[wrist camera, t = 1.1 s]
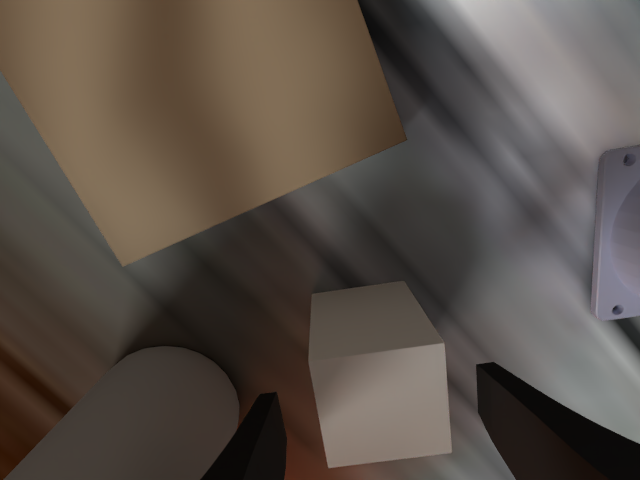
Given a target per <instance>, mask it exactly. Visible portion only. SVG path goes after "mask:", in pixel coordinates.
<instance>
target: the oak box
mask: <svg viewBox="0 0 640 480" xmlns="http://www.w3.org/2000/svg"><path fill="white" fill-rule="evenodd" d="M0 71H1V72H2V74H3V75H4V77H5V79H6V80H7V82H8V83H9V85H10V87H11V88H12V90H13V91H14V93H15V95H16V96H17V98H18V99H19V101H20V103H21V104H22V106H23V107H24V109H25V111H26V112H27V114H28V115H29V117H30V119H31V120H32V122H33V124H34V125H35V127H36V128H37V130H38V132H39V133H40V135H41V136H42V138H43V140H44V141H45V143H46V144H47V146H48V148H49V149H50V151H51V152H52V154H53V156H54V157H55V159H56V160H57V162H58V164H59V165H60V167H61V168H62V170H63V172H64V173H65V175H66V176H67V178H68V180H69V181H70V183H71V184H72V186H73V188H74V189H75V191H76V193H77V194H78V196H79V197H80V199H81V201H82V202H83V204H84V205H85V207H86V209H87V210H88V212H89V213H90V215H91V217H92V218H93V220H94V221H95V223H96V225H97V226H98V228H99V229H100V231H101V233H102V234H103V236H104V237H105V239H106V241H107V242H108V244H109V245H110V247H111V249H112V250H113V252H114V253H115V255H116V257H117V258H118V260H119V262H120V263H121V265H122V266H125V265H127V264H130V263H132V262H134V261H136V260H139V259H141V258H143V257H145V256H148V255H150V254H152V253H154V252H157V251H159V250H161V249H163V248H166V247H168V246H170V245H172V244H175V243H177V242H179V241H181V240H184V239H186V238H188V237H190V236H193V235H195V234H197V233H199V232H202V231H204V230H206V229H208V228H210V227H213V226H215V225H217V224H219V223H222V222H224V221H226V220H228V219H231V218H233V217H235V216H237V215H240V214H242V213H244V212H246V211H249V210H251V209H253V208H255V207H258V206H260V205H262V204H264V203H267V202H269V201H271V200H273V199H276V198H278V197H280V196H282V195H285V194H287V193H289V192H291V191H294V190H296V189H298V188H300V187H303V186H305V185H307V184H309V183H312V182H314V181H316V180H318V179H321V178H323V177H325V176H327V175H330V174H332V173H334V172H336V171H339V170H341V169H343V168H345V167H348V166H350V165H352V164H354V163H357V162H359V161H361V160H363V159H366V158H368V157H370V156H372V155H375V154H377V153H379V152H381V151H384V150H386V149H388V148H390V147H392V146H395V145H397V144H399V143H401V142H404V141H406V140H407V138H406V135H405V132H404V129H403V127H402V124H401V121H400V118H399V115H398V113H397V110H396V107H395V104H394V101H393V99H392V96H391V93H390V90H389V87H388V85H387V82H386V79H385V76H384V73H383V71H382V68H381V65H380V62H379V59H378V57H377V54H376V51H375V48H374V45H373V43H372V40H371V37H370V34H369V31H368V29H367V26H366V23H365V20H364V17H363V15H362V12H361V9H360V6H359V3H358V1H357V0H0Z"/></svg>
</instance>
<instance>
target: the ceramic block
mask: <svg viewBox="0 0 640 480" xmlns="http://www.w3.org/2000/svg"><path fill="white" fill-rule="evenodd" d="M308 363H309V368H310V373H311V379H312V384H313V390H314V395H315V400H316V406H317V411H318V416H319V422H320V427H321V432H322V438H323V443H324V448H325V454H326V459H327V464H328V468H334V467H342V466H350V465H358V464H366V463H374V462H382V461H390V460H398V459H406V458H414V457H422V456H430V455H438V454H446V453H452V447H451V432H450V417H449V403H448V388H447V373H446V358H445V343H444V341H443V340H442V338H441V337H440V335H439V334H438V332H437V331H436V329H435V328H434V326H433V325H432V323H431V322H430V320H429V318H428V317H427V315H426V314H425V312H424V311H423V309H422V308H421V306H420V305H419V303H418V302H417V300H416V298H415V297H414V295H413V294H412V292H411V291H410V289H409V288H408V286H407V285H406V283H405V282H404V281H398V282H391V283H384V284H377V285H370V286H363V287H356V288H349V289H342V290H335V291H328V292H322V293H315V294H312V298H311V318H310V338H309V357H308Z"/></svg>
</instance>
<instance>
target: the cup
mask: <svg viewBox="0 0 640 480" xmlns="http://www.w3.org/2000/svg"><path fill="white" fill-rule="evenodd" d="M238 421H239V401H238V397H237V393H236V390H235V388H234V387H233V385H232V383H231V381H230V380H229V378H228V376H227V375H226V373H225V372H224V371H223V370H222V369H221V368H220V367H219V366H218V365H217V364H216V363H215V362H214V361H212V360H210V359H209V358H207V357H205V356H204V355H202V354H200V353H198V352H195V351H192V350H189V349H186V348H182V347H172V346H159V347H151V348H144V349H141V350H139V351H137V352H134V353H132V354H129V355H127V356H126V357H125V358H123V359H122V360H121V361H120V362H118V363H117V364H116V365H115V366H113V367H112V368H111V369H110V370H109V371H108V372H107V373H106V374H105V375H104V376H103V377H102V378H101V379H100V380H99V381H98V382H97V383H96V384H95V385H94V386H93V387H92V388H91V389H90V390H89V391H88V392H87V393H86V394H85V395H84V397H83V398H82V399H81V400H80V401H79V402H78V403H77V404H76V405H75V406H74V407H73V408H72V409H71V410H70V411H69V412H68V413H67V414H66V415H65V416H64V417H63V418H62V419H61V420H60V422H59V423H58V424H57V425H56V426H55V427H54V428H53V429H52V430H51V431H50V432H49V433H48V434H47V435H46V436H45V437H44V438H43V439H42V440H41V441H40V442H39V443H38V444H37V446H36V447H35V448H34V449H33V450H32V451H31V452H30V453H29V454H28V455H27V456H26V457H25V458H24V459H23V460H22V461H21V462H20V463H19V464H18V465H17V466H16V467H15V468H14V469H13V471H12V472H11V473H10V474H9V475H8V476H7V477H6V478H5V479H4V480H200V479H201V478H202V477H203V475H204V474H205V473H206V472H207V470H208V469H209V468H210V467H211V465H212V464H213V463H214V461H215V460H216V459H217V457H218V456H219V455H220V453H221V452H222V451H223V449H224V448H225V447H226V445H227V444H228V442H229V441H230V440H231V438H232V437H233V435H234V434H235V432H236V430H237V426H238Z"/></svg>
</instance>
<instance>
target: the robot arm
mask: <svg viewBox="0 0 640 480" xmlns="http://www.w3.org/2000/svg"><path fill="white" fill-rule="evenodd" d="M626 155H627V157H628V159H627V162H626V163H625V164H624V163H623V159H624V157H625V156H626ZM616 305H617V306H616ZM615 306H616V308H615V309H614V310H613V308H614V307H615ZM591 313H592V315H593V316H595V317H596V318H598V319H600V320H612V319H619V318H627V317H634V316H640V145H637V146H631V147H625V148H618V149H612V150H609V151H606V152H605V153H604V154H603V155H602V156H601V158H600V160H599V168H598V186H597V204H596V222H595V240H594V258H593V276H592V294H591ZM476 371H477V395H478V413H479V415H480V417H481V419H482V421H483V424H484V426H485V428H486V430H487V432H488V434H489V436H490V438H491V440H492V442H493V443H494V445H495V447H496V448H497V450H498V452H499V453H500V455H501V456H502V458H503V460H504V461H505V463H506V464H507V466H508V468H509V469H510V471H511V472H512V474H513V475H514V477H515V479H516V480H640V444H639V443H636V442H634V441H632V440H630V439H627V438H625V437H623V436H621V435H619V434H617V433H615V432H613V431H611V430H609V429H607V428H605V427H602V426H600V425H598V424H597V423H595V422H593V421H591V420H589V419H587V418H585V417H583V416H581V415H580V414H578V413H576V412H574V411H572V410H571V409H569V408H567V407H565V406H564V405H562V404H560V403H558V402H557V401H555V400H553V399H552V398H550V397H548V396H547V395H545V394H543V393H542V392H540V391H538V390H537V389H535V388H534V387H532V386H531V385H529V384H527V383H526V382H524V381H523V380H521V379H520V378H518V377H516V376H515V375H513V374H512V373H510V372H509V371H507V370H506V369H504V368H502V367H501V366H499V365H498V364H496V363H494V362H490V363H483V364H476ZM286 446H287V437H286V432H285V428H284V423H283V419H282V414H281V409H280V405H279V400H278V396H277V392H272V393H265V394H260V395H259V396H258V398H257V399H256V401H255V402H254V404H253V406H252V407H251V409H250V411H249V412H248V414H247V415H246V417H245V418H244V420H243V422H242V423H241V425H240V426H239V428H238V429H237V431H236V432H235V434H234V435H233V437H232V438H231V440H230V441H229V442H228V444H227V445H226V447H225V448H224V449H223V451H222V452H221V453H220V455H219V456H218V457H217V459H216V460H215V461H214V463H213V464H212V465H211V467H210V468H209V469H208V470H207V472H206V473H205V474H204V475H203V477H202V478H201V479H200V480H284V476H285V469H286Z"/></svg>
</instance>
